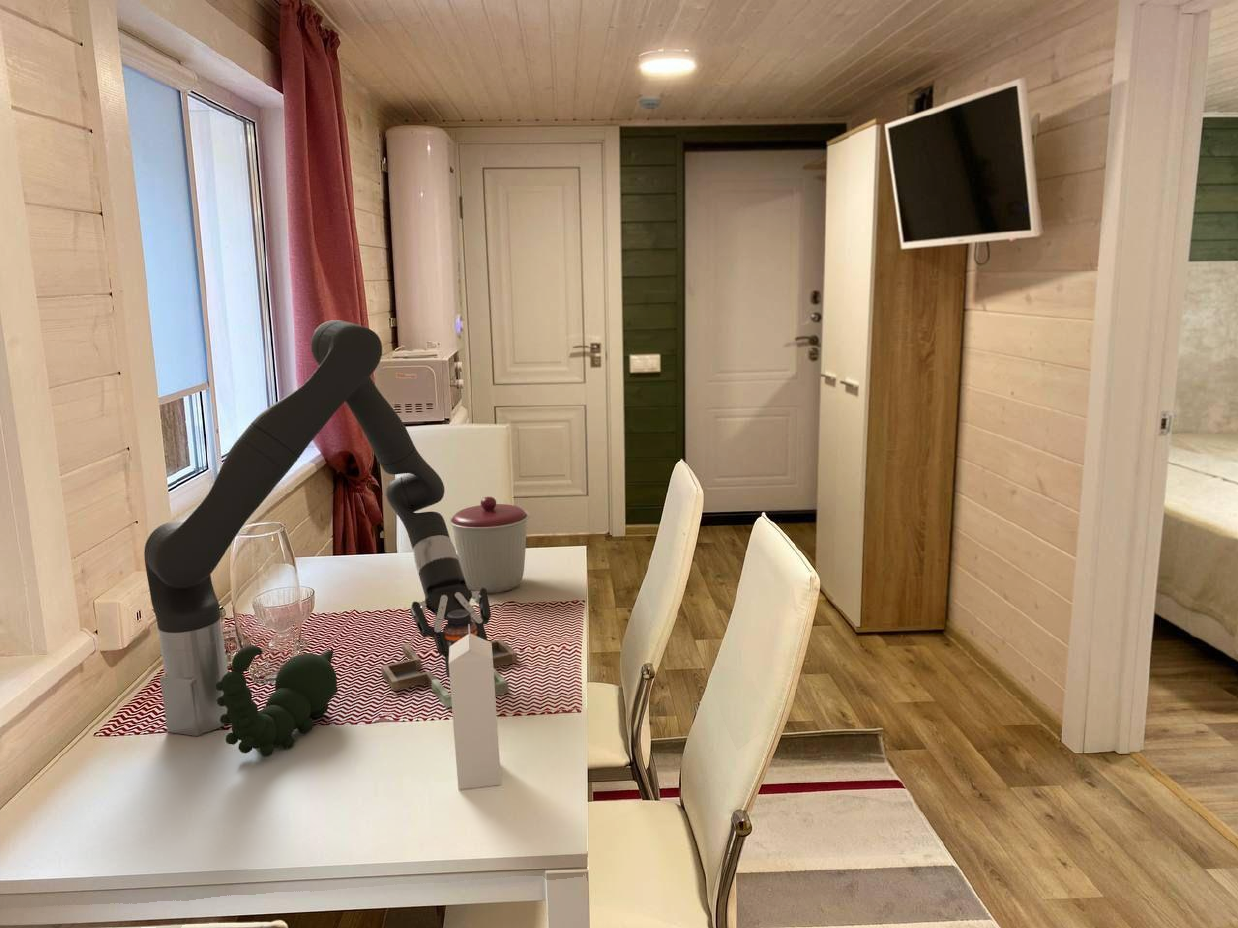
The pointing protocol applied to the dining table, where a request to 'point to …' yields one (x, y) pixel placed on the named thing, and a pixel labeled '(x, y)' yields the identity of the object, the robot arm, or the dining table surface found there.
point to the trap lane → (409, 676)
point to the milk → (474, 712)
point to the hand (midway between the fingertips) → (464, 650)
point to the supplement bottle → (457, 629)
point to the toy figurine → (276, 700)
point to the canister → (491, 545)
